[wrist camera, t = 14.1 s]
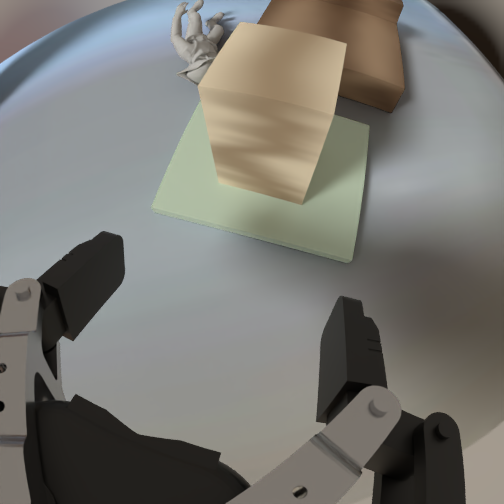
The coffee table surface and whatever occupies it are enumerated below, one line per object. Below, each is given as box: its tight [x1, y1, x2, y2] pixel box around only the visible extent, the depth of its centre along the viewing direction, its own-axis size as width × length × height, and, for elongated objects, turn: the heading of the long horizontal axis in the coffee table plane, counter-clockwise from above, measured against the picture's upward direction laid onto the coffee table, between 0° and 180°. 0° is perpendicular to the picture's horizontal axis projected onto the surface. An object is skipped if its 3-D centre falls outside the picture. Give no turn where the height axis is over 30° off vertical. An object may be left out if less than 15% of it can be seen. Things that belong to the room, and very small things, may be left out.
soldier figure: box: [171, 0, 224, 86], centre depth 20 cm, size 8×5×12 cm
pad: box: [151, 100, 370, 263], centre depth 18 cm, size 12×10×1 cm
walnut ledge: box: [257, 0, 405, 113], centre depth 19 cm, size 12×12×6 cm
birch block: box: [198, 22, 347, 205], centre depth 14 cm, size 5×5×8 cm
